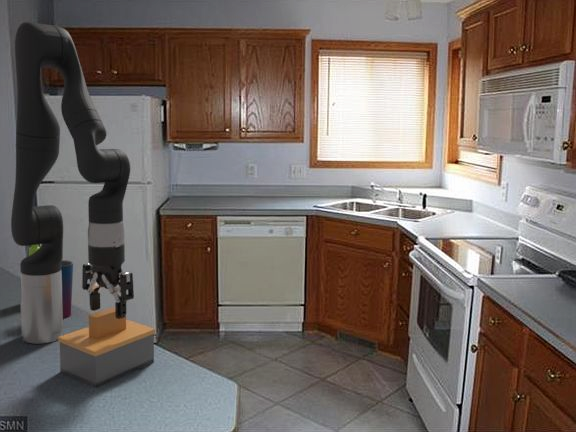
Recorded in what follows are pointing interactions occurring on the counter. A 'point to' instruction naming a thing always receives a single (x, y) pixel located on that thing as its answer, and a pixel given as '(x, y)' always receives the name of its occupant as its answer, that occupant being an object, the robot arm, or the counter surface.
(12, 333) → the counter surface
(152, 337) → the tub
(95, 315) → the lid
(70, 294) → the cup
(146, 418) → the counter surface
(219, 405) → the counter surface
